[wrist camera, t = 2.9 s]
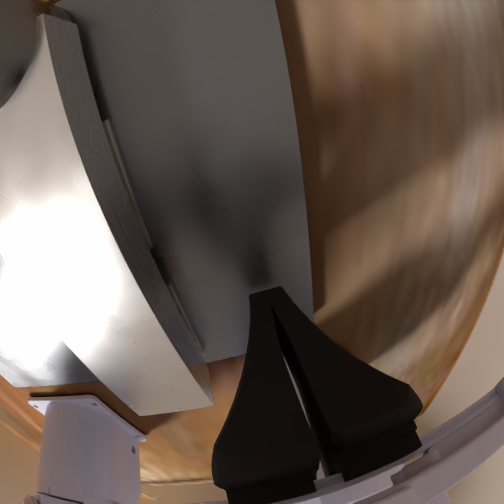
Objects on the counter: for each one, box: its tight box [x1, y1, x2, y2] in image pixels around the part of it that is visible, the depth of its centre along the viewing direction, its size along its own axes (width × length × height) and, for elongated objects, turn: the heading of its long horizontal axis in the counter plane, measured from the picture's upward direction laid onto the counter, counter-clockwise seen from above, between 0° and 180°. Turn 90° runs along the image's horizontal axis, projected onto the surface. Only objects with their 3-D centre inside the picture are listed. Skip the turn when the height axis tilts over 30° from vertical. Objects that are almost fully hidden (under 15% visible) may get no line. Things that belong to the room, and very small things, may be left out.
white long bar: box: [0, 0, 213, 416], centre depth 8 cm, size 18×4×3 cm, turn 10°
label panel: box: [0, 0, 314, 387], centre depth 10 cm, size 18×22×2 cm
